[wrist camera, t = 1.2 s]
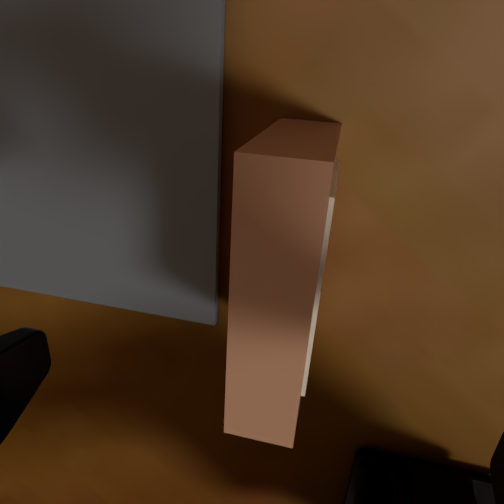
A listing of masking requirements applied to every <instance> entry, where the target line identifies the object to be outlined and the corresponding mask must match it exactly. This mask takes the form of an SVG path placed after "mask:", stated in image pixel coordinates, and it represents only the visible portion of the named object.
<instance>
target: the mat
mask: <svg viewBox="0 0 504 504" xmlns="http://www.w3.org/2000/svg"><path fill="white" fill-rule="evenodd" d="M224 32H225V0H0V286H3V287H9V288H14V289H20V290H25V291H30V292H36V293H41V294H47V295H52V296H57V297H63V298H68V299H73V300H79V301H84V302H90V303H95V304H100V305H106V306H111V307H117V308H122V309H127V310H133V311H138V312H144V313H149V314H154V315H160V316H165V317H171V318H176V319H181V320H187V321H192V322H197V323H203V324H208V325H214V326H215V324H216V322H217V319H218V278H219V237H220V196H221V155H222V114H223V73H224Z"/></svg>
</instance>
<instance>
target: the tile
mask: <svg viewBox="0 0 504 504" xmlns="http://www.w3.org/2000/svg"><path fill="white" fill-rule="evenodd" d="M341 126H342V123H334V122H322V121H311V120H300V119H288V118H280V119H279V120H277V121H276V122H274V123H273V124H272V125H270V126H269V127H268V128H266V129H265V130H263V131H262V132H261V133H259V134H258V135H257V136H255V137H254V138H253V139H251V140H250V141H248V142H247V143H246V144H244V145H243V146H242V147H240V148H239V149H237V150H236V151H235V152H234V170H233V197H232V224H231V251H230V278H229V304H228V331H227V358H226V385H225V412H224V433H228V434H233V435H237V436H241V437H245V438H250V439H254V440H258V441H263V442H267V443H271V444H275V445H280V446H284V447H288V448H293V444H294V438H295V431H296V425H297V419H298V412H299V406H300V400H301V396H305V393H306V386H307V379H308V373H309V366H310V359H311V353H312V346H313V340H314V333H315V326H316V320H317V313H318V306H319V300H320V293H321V286H322V280H323V273H324V267H325V260H326V253H327V247H328V240H329V233H330V227H331V220H332V213H333V207H334V200H335V193H336V186H337V179H338V172H339V165H340V160H337V153H338V146H339V139H340V132H341Z"/></svg>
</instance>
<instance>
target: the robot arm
mask: <svg viewBox="0 0 504 504" xmlns="http://www.w3.org/2000/svg"><path fill="white" fill-rule="evenodd" d="M50 366H51V358H50V353H49V347H48V342H47V337H46V334H45V333H44V332H43V331H42V330H38V329H33V328H28V327H24V328H20V329H17V330H15V331H12V332H9V333H6V334H3V335H0V444H1V443H2V442H3V440H4V439H5V438H6V436H7V435H8V433H9V432H10V430H11V429H12V427H13V426H14V424H15V423H16V421H17V420H18V418H19V417H20V415H21V414H22V412H23V411H24V409H25V407H26V406H27V404H28V403H29V401H30V400H31V398H32V397H33V395H34V394H35V392H36V390H37V389H38V387H39V386H40V384H41V383H42V381H43V380H44V378H45V377H46V375H47V373H48V371H49V369H50ZM365 459H368V460H365ZM490 474H491V476H490V475H486V474H481V473H477V472H472V471H468V470H464V469H459V468H455V467H450V466H446V465H441V464H437V463H433V462H428V461H424V460H419V459H415V458H410V457H406V456H401V455H397V454H393V453H388V452H384V451H379V450H375V449H370V448H360V449H358V450H357V451H356V453H355V456H354V461H353V465H352V469H351V473H350V477H349V481H348V485H347V490H346V494H345V498H344V502H343V504H504V432H503V434H502V436H501V438H500V440H499V443H498V445H497V447H496V449H495V452H494V454H493V456H492V459H491V463H490Z"/></svg>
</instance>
